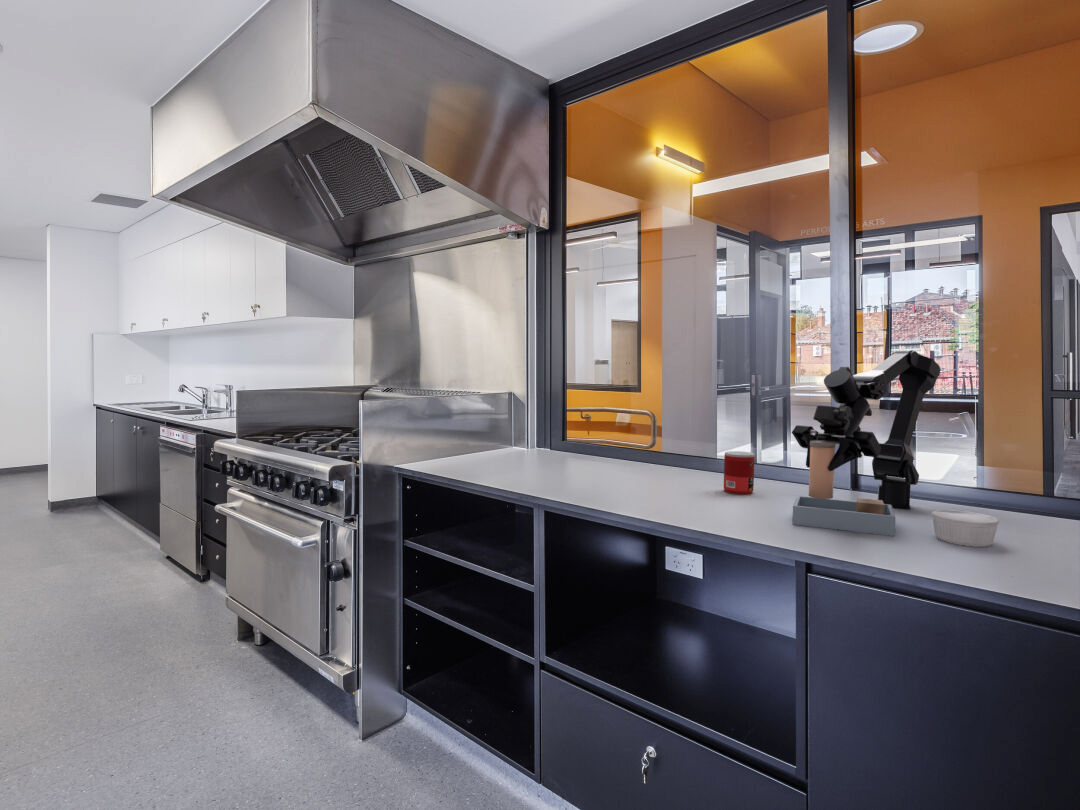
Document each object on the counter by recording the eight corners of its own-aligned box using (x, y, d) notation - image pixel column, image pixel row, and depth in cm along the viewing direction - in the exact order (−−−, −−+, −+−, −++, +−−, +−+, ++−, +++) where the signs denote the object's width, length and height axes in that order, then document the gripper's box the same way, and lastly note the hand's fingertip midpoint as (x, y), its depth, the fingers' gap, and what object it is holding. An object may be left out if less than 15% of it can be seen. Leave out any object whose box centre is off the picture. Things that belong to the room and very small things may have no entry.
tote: (890, 522, 134) (891, 504, 134) (894, 536, 123) (895, 516, 123) (796, 512, 143) (796, 495, 143) (792, 524, 132) (792, 506, 132)
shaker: (827, 494, 137) (829, 440, 136) (837, 499, 132) (839, 443, 131) (804, 493, 137) (806, 439, 136) (813, 498, 132) (815, 442, 131)
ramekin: (963, 532, 127) (964, 508, 127) (1012, 548, 116) (1014, 521, 116) (917, 534, 125) (918, 509, 125) (963, 550, 114) (964, 523, 114)
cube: (881, 522, 132) (882, 500, 131) (883, 527, 127) (884, 504, 127) (856, 519, 134) (857, 497, 134) (856, 524, 130) (857, 502, 129)
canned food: (755, 495, 163) (756, 455, 162) (725, 493, 164) (726, 454, 163) (751, 489, 170) (752, 451, 169) (722, 488, 172) (723, 450, 171)
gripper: (797, 391, 143) (766, 440, 138) (876, 394, 127) (844, 449, 122) (816, 422, 148) (787, 470, 142) (894, 429, 132) (864, 483, 127)
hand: (818, 468), depth 133 cm, fingers closed on shaker, 5 cm apart
